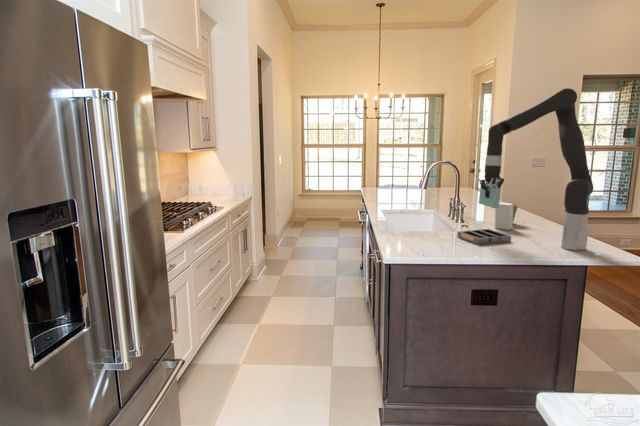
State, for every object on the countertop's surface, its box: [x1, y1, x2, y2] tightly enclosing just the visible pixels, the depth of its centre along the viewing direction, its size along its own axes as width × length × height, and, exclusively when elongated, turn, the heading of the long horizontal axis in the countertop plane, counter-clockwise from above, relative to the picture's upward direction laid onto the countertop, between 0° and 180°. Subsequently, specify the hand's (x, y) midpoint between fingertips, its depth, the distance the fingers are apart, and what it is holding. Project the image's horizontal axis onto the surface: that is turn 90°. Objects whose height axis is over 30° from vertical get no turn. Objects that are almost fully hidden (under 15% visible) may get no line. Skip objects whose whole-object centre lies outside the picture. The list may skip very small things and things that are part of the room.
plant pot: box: [513, 204, 520, 222], centre depth 241 cm, size 12×12×11 cm
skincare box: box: [494, 202, 514, 231], centre depth 227 cm, size 8×6×15 cm
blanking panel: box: [478, 186, 502, 209], centre depth 203 cm, size 12×3×10 cm, turn 14°
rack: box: [457, 228, 512, 246], centre depth 205 cm, size 17×20×3 cm
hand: (490, 197), depth 203 cm, fingers closed on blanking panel, 3 cm apart
